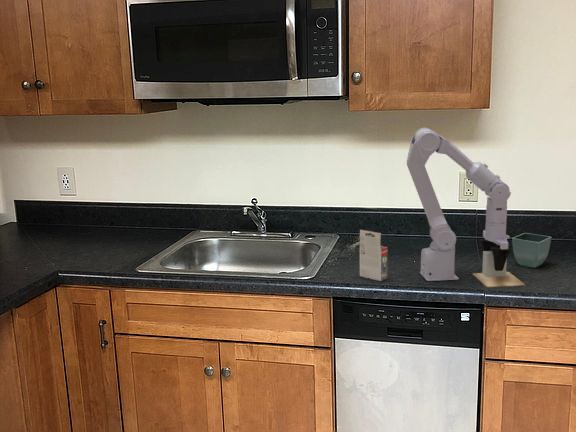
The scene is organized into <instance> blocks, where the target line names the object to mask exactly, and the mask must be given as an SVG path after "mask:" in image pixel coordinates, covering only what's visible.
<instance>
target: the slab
mask: <svg viewBox="0 0 576 432" xmlns="http://www.w3.org/2000/svg"><path fill="white" fill-rule="evenodd" d="M507 262H508V258H507V259H506V262H505V265H504V268H503V271H495V268H494V258H493V254H492V251H483V250H482V271H481V273H482V274H483V275H484V276H485V277H500V276H506V272H507Z"/></svg>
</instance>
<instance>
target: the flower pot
mask: <svg viewBox="0 0 576 432" xmlns="http://www.w3.org/2000/svg"><path fill="white" fill-rule="evenodd" d="M511 239H512V240H511V243H512V251H513V256H514V258H515V261H516V262H517V263H518V265H519V266H521V267H522V266H523V267H528V268H533V269H535V268H538V267H539V266H540V267H541V265H543V263H544V262H545V261H546V258H547V257H548V254H549V251H550V247H551V242H552V236H549V235H542V234H536V233H529V232H523V233H521V234H519V235H516V236H514V237H512V238H511Z"/></svg>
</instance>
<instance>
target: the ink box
mask: <svg viewBox="0 0 576 432" xmlns="http://www.w3.org/2000/svg"><path fill="white" fill-rule="evenodd" d="M367 234H370V235H367ZM371 235H374V236H371ZM359 277H361V278H364V279H368V278H369V280H373V281H378V282H382V281H385V280H388V246H383V245H382V233H381V232H376V231H372V230H364V229H359Z"/></svg>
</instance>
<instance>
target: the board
mask: <svg viewBox="0 0 576 432" xmlns="http://www.w3.org/2000/svg"><path fill="white" fill-rule="evenodd" d="M472 275H473V276H474V277H475V279H477V280H478V281H479V282H481V284H483V286H485V287H486V288H501V287H502V288H503V287H519V286H526V284H525V283H524V282H522V280H520V279H519V278H518V277H516V276H515V275H513V274H512V273H511V272H509V271H506V276H500V277H485V276H484V275H483V274H482V272H473V273H472Z"/></svg>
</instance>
